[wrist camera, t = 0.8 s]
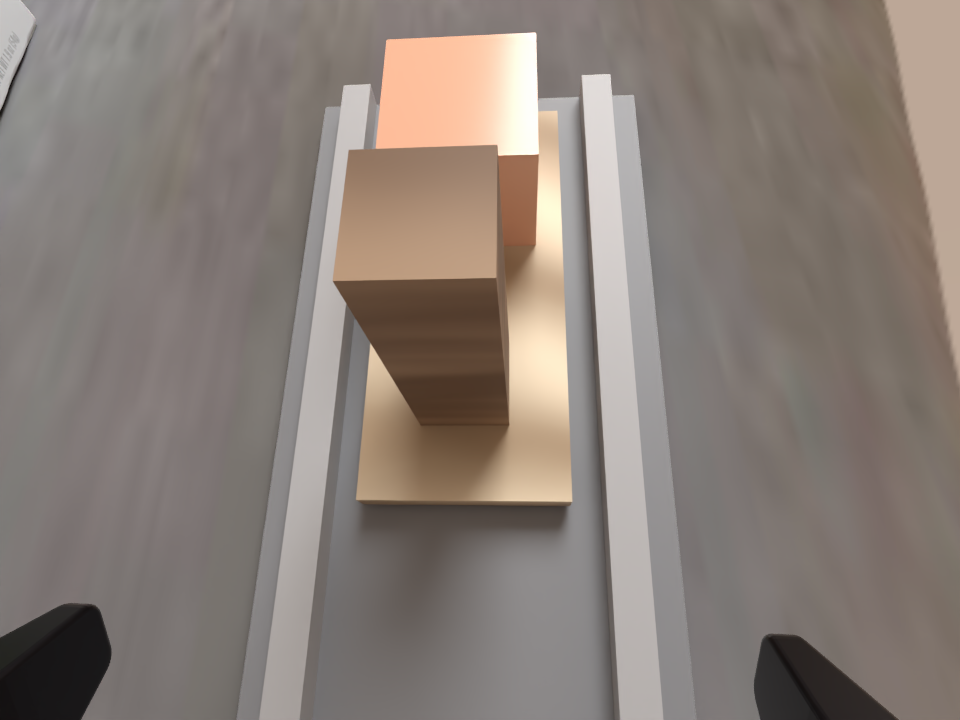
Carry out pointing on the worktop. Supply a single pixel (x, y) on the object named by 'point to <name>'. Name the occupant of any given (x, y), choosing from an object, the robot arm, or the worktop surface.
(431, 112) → the terracotta cube
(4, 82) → the tea box
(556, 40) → the worktop surface
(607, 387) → the guide board
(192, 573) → the worktop surface
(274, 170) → the worktop surface
